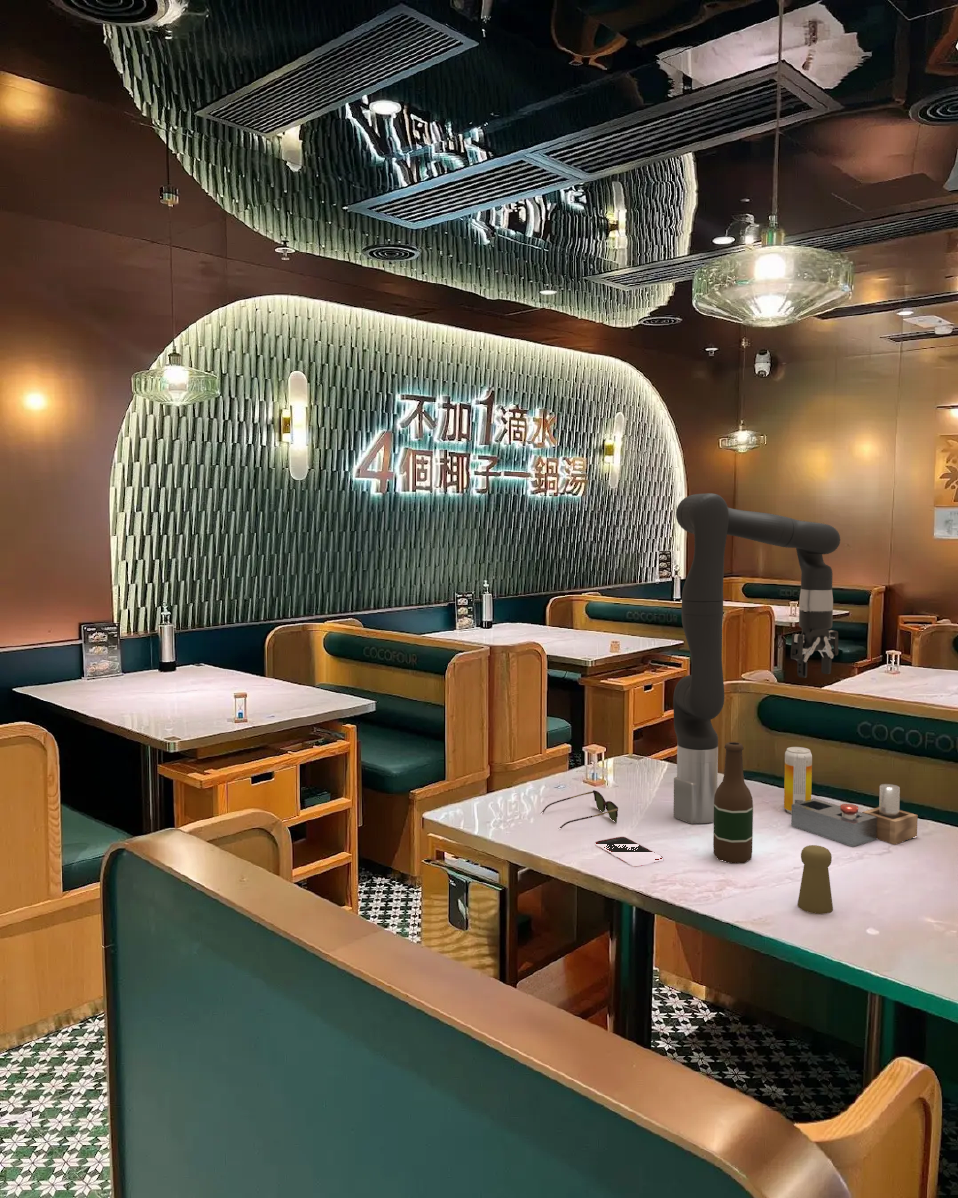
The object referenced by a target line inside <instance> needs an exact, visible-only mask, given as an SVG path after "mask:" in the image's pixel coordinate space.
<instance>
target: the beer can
mask: <svg viewBox="0 0 958 1198" xmlns="http://www.w3.org/2000/svg"><path fill="white" fill-rule="evenodd" d="M812 773H813V755H812V752H811V749H809V748H806V747H802V746H801V747H800V746H791V747H787V748H786V751H785V752H784V779H783V780H784V783H783V784H784V786H783V787H784V789H783V790H784V791H783V792H784V793H783V808H784V809H785V811H786V813H789V814H791V815H792V804H795V803H799V802H803V801H807V800H811V799H812V781H813V774H812Z"/></svg>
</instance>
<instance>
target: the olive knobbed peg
mask: <svg viewBox="0 0 958 1198" xmlns="http://www.w3.org/2000/svg"><path fill="white" fill-rule="evenodd" d="M832 857H833V856H832V852H831V851H830V850H829V849H828V848H826V847H825V846H821V845H817V844H816V845H815V844H812V845H811V844H810V845H806V846H804V847H803V848H802V849H801V853H800V859H801V862H802V864H803V867H802V868H803V869H802V875H801V882H800V888H799V893H798V898H797V899H798V900H797V907H798V908H799V909H800V910H801V911H804V912H806V913H810V914H815V915H824V914H825V915H826V914H830V913H832V912H834V911H833V910H834V905H833V898H832V888H831V880H830V871H829V867H830V866H831V863H832Z"/></svg>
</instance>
